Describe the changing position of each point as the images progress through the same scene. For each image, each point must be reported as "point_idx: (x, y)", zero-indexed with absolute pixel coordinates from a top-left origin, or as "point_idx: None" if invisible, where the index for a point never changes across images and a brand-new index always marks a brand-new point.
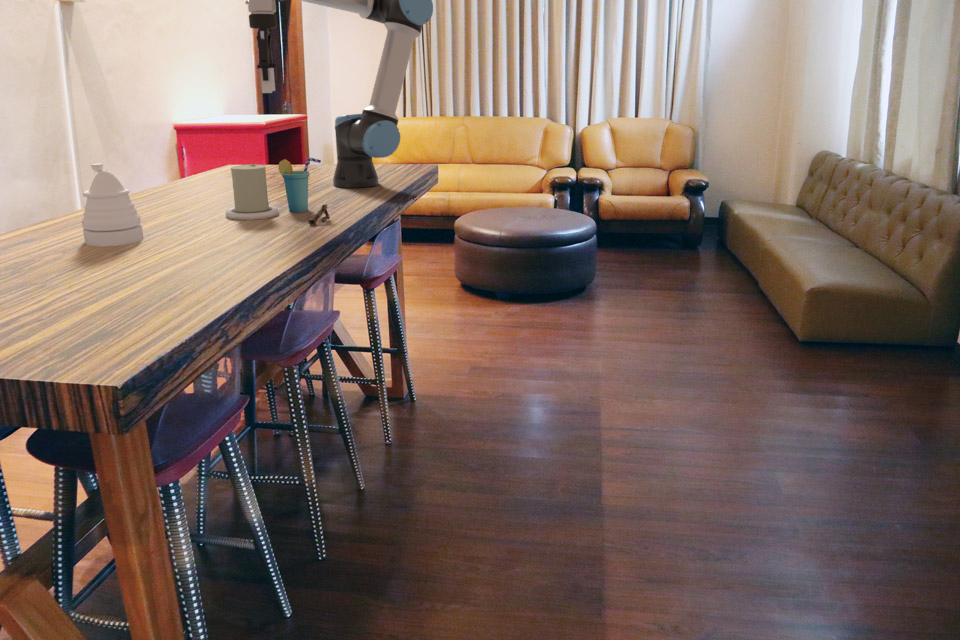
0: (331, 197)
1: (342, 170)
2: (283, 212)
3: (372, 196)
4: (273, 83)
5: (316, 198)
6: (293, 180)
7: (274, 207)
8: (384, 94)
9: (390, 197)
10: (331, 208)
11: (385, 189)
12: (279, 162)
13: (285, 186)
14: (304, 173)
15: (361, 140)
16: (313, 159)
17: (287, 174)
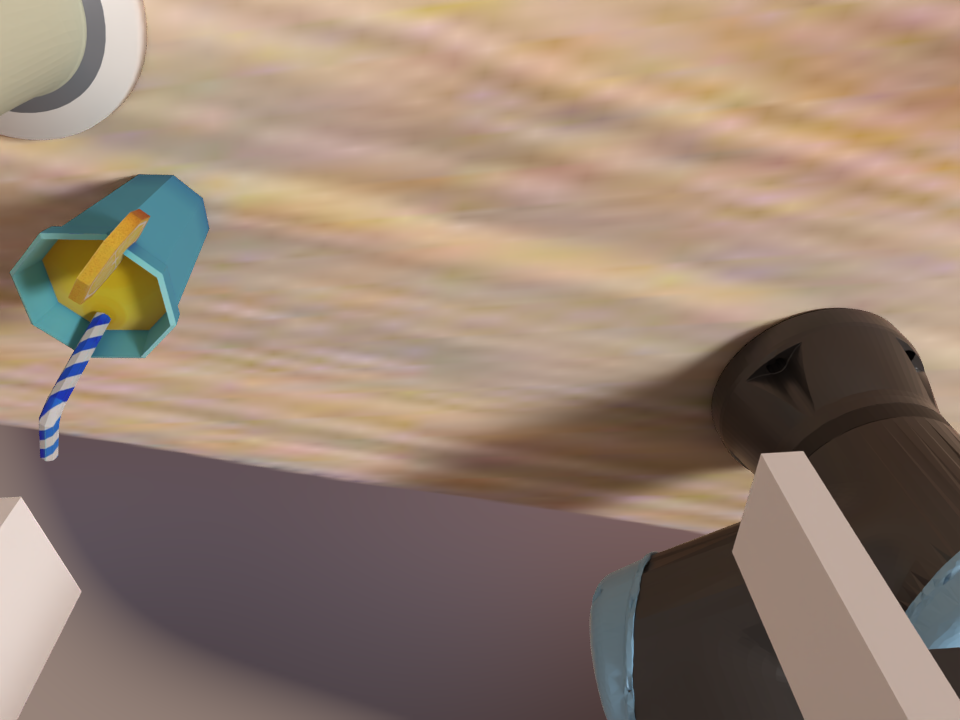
0: (501, 317)
1: (800, 392)
2: (111, 149)
3: (495, 447)
4: (780, 641)
5: (486, 261)
6: (40, 277)
7: (79, 117)
8: None
9: (462, 494)
10: (230, 333)
11: (645, 478)
12: (107, 238)
13: (78, 215)
14: (79, 342)
15: (652, 597)
16: (40, 434)
17: (18, 265)
